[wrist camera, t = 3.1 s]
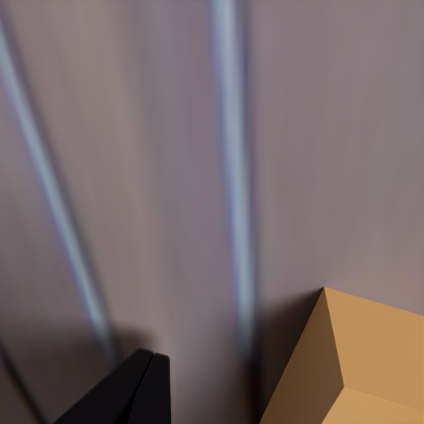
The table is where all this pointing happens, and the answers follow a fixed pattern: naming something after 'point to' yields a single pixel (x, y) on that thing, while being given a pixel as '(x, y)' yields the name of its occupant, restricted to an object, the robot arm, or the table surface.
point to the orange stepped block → (353, 366)
